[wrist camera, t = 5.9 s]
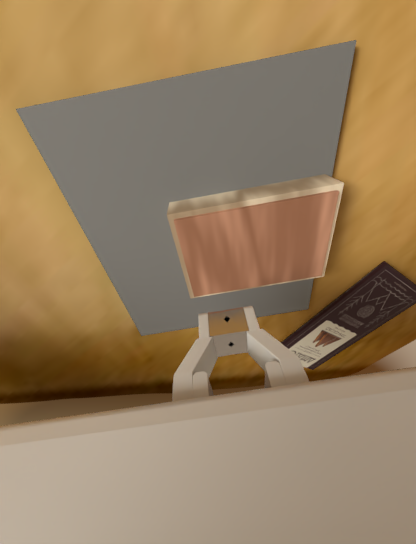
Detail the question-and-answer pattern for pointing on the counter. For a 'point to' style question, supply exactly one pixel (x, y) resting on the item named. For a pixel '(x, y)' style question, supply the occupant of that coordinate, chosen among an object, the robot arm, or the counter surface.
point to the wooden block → (256, 235)
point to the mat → (189, 166)
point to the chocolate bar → (352, 315)
